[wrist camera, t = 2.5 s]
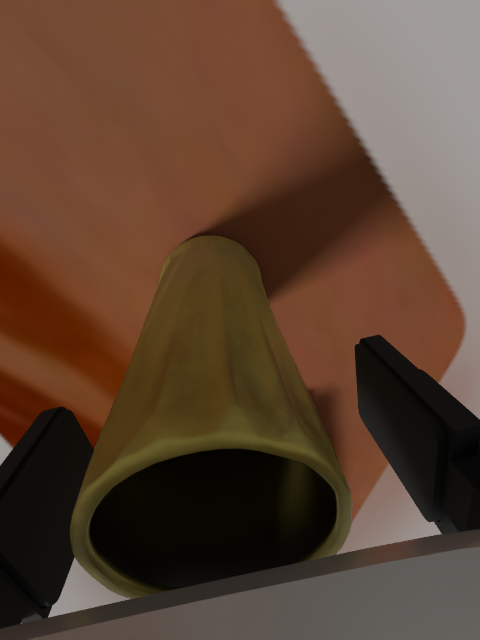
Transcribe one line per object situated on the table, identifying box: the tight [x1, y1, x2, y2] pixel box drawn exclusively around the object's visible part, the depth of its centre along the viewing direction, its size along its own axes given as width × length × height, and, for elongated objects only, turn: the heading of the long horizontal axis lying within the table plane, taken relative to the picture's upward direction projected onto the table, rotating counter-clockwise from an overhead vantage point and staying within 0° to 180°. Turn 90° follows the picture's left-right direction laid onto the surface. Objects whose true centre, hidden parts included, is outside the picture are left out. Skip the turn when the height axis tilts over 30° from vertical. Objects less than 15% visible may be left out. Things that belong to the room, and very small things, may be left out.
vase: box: [70, 236, 352, 599], centre depth 12 cm, size 6×6×14 cm
